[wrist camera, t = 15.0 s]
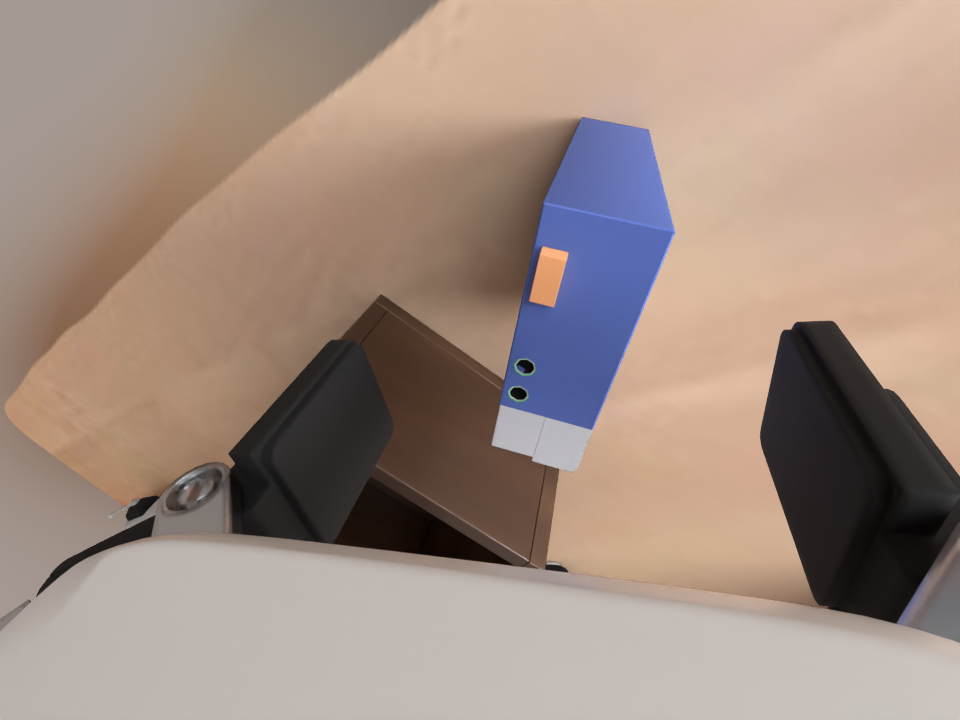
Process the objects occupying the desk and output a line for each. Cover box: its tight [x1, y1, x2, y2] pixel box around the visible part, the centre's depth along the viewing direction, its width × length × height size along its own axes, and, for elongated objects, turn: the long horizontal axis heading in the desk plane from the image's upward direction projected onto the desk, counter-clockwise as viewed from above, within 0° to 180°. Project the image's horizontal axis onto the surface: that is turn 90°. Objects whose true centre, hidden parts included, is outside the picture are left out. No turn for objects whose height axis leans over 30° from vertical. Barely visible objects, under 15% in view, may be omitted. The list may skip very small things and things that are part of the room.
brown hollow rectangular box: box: [332, 295, 559, 570], centre depth 28 cm, size 17×14×10 cm
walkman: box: [492, 117, 675, 472], centre depth 16 cm, size 8×3×12 cm, turn 172°
